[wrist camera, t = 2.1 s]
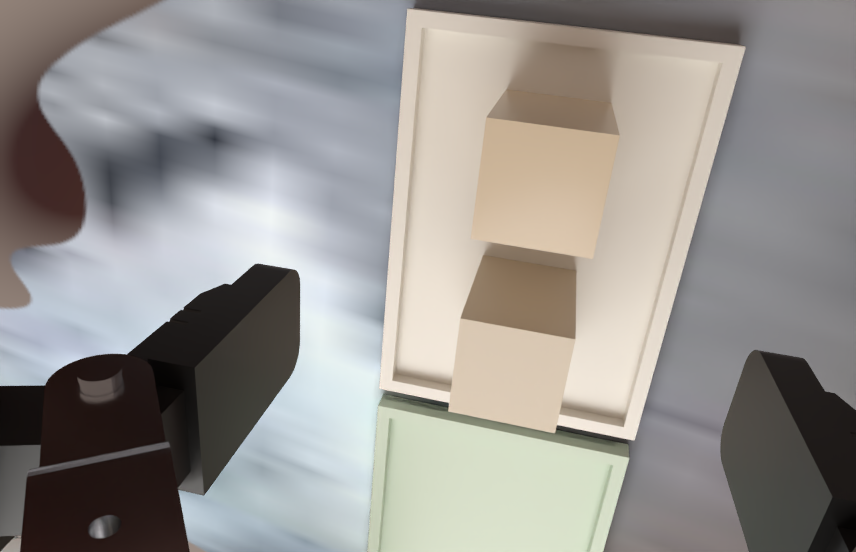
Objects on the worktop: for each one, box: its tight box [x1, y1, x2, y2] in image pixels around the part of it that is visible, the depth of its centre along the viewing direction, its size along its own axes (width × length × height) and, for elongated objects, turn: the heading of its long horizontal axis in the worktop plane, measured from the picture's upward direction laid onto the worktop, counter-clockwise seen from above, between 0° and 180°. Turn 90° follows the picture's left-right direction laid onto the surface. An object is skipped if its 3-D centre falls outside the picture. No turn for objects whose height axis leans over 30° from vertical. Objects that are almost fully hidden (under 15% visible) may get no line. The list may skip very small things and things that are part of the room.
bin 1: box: [379, 8, 746, 440], centre depth 28 cm, size 12×17×1 cm
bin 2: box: [367, 394, 629, 552], centre depth 35 cm, size 12×14×1 cm
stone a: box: [471, 89, 620, 259], centre depth 23 cm, size 4×4×6 cm
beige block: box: [448, 255, 577, 433], centre depth 26 cm, size 4×4×6 cm
